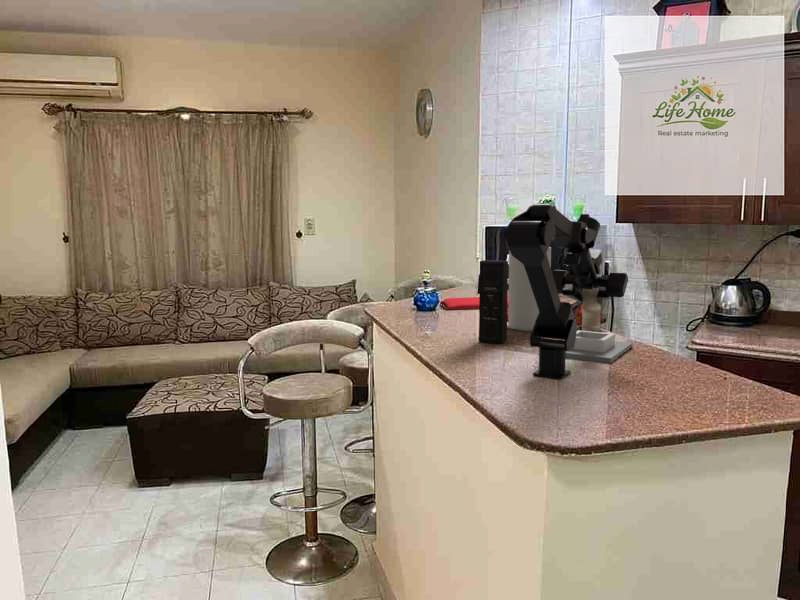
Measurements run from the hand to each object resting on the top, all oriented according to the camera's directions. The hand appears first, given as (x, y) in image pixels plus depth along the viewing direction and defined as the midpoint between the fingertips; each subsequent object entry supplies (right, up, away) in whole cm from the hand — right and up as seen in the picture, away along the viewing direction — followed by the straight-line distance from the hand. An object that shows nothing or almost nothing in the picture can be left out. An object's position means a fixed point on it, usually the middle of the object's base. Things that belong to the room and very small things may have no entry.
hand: (593, 303), depth 155 cm
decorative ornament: (-15, -6, +50) cm, 53 cm away
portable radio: (-24, -11, +14) cm, 30 cm away
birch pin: (-1, -7, 0) cm, 7 cm away
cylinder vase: (-9, -8, +33) cm, 35 cm away
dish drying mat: (-12, -2, +81) cm, 82 cm away
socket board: (-1, -12, +1) cm, 12 cm away
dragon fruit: (+9, -8, +32) cm, 34 cm away
